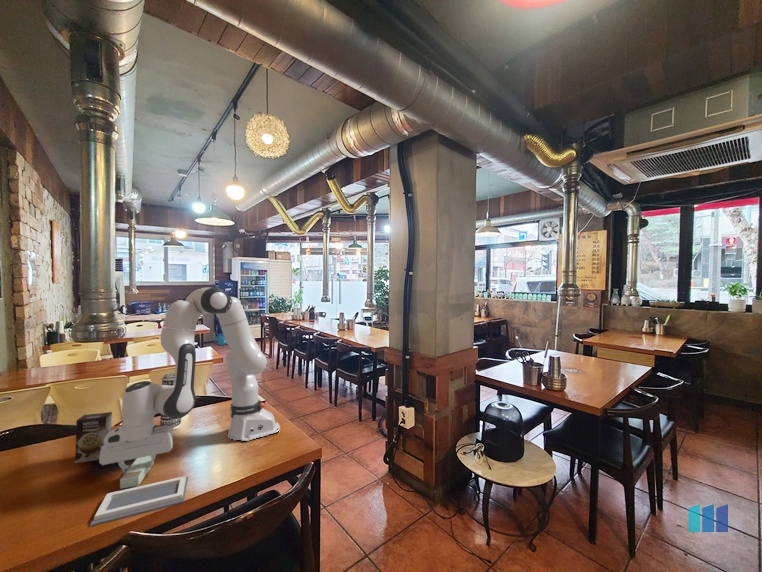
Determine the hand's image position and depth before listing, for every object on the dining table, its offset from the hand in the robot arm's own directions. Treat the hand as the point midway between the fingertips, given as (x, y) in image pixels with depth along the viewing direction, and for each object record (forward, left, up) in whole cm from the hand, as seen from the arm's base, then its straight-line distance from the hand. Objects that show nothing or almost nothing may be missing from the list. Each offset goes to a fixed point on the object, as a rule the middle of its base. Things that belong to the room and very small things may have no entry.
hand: (137, 469), depth 109 cm
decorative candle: (-5, -43, -3) cm, 43 cm away
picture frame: (-5, +15, -3) cm, 16 cm away
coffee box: (+18, -24, -3) cm, 30 cm away
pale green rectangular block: (0, 0, -2) cm, 2 cm away
